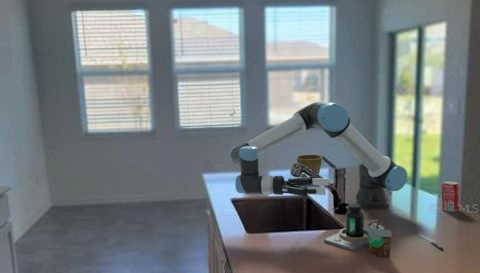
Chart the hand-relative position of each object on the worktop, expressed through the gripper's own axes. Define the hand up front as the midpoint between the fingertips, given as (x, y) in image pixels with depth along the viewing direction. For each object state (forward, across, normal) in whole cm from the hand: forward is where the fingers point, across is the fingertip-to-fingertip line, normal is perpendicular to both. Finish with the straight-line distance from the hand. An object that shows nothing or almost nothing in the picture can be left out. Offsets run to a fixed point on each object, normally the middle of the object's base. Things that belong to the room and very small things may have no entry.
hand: (327, 186), depth 164 cm
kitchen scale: (+9, +2, -20) cm, 22 cm away
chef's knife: (+38, -3, -22) cm, 43 cm away
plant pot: (-19, -83, -21) cm, 88 cm away
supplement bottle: (+10, 0, -20) cm, 22 cm away
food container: (+17, +12, -21) cm, 30 cm away
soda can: (+50, -43, -22) cm, 70 cm away
